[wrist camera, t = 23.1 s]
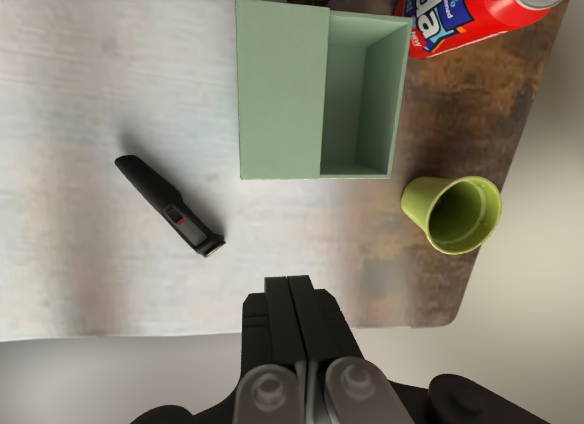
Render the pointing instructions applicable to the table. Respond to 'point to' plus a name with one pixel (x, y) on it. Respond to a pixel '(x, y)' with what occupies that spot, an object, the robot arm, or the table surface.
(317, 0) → the deodorant
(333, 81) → the carton
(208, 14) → the table surface
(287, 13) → the flap
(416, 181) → the plant pot
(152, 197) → the electric trimmer
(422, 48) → the soda can
